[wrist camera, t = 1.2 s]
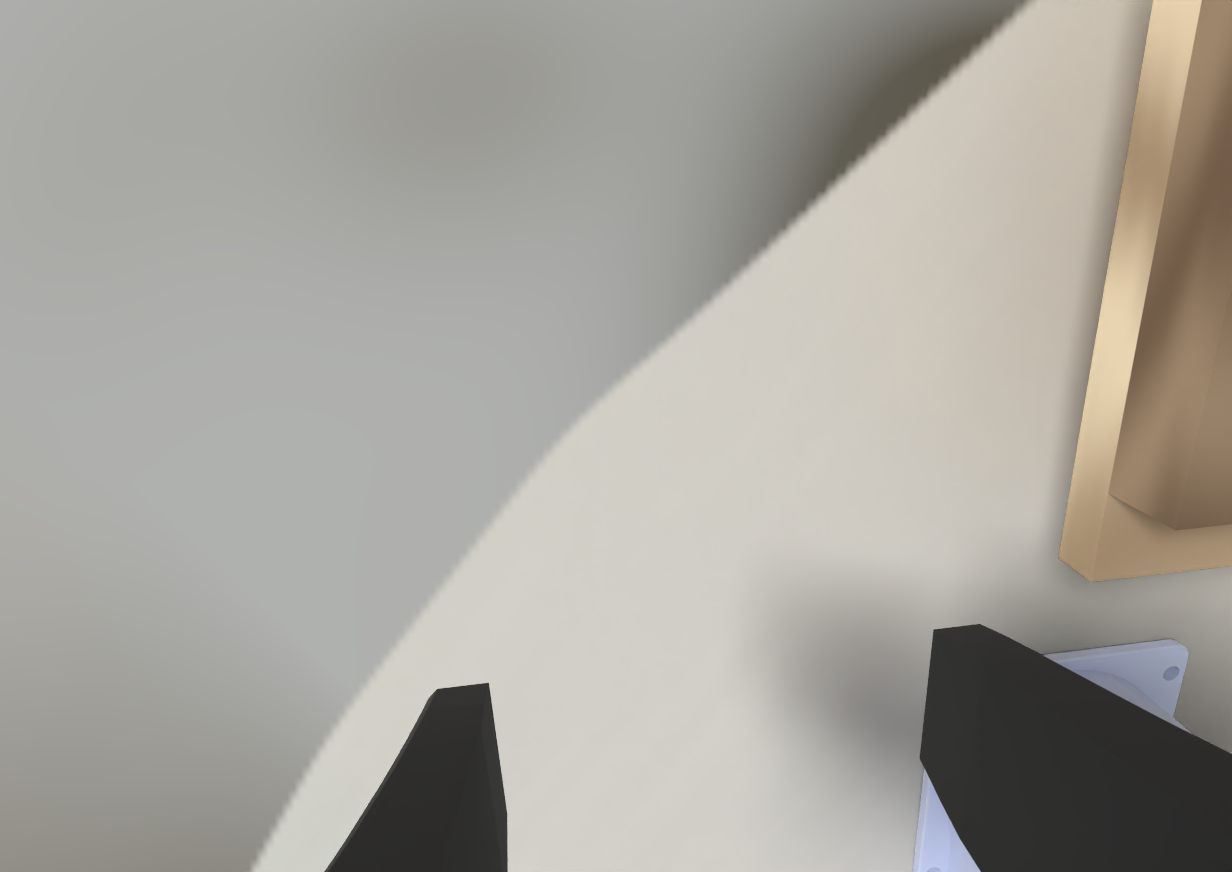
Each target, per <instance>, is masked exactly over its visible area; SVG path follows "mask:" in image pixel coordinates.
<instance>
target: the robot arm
mask: <svg viewBox="0 0 1232 872" xmlns="http://www.w3.org/2000/svg"><path fill="white" fill-rule="evenodd" d="M1187 661H1188V650H1187V648H1186V647H1184V646H1183V645H1182V644H1180V643H1179V642H1177V641H1176V640H1172V639H1167V640H1159V641H1151V642H1143V643H1135V644H1127V645H1119V646H1111V647H1103V648H1094V649H1086V650H1078V651H1070V652H1062V653H1054V654H1046V655H1041V654H1039V653H1037V652H1035V651H1034V650H1032V649H1030V648H1028V647H1026V646H1024V645H1022V644H1020V643H1018V642H1016V641H1014V640H1012V639H1010V638H1008V637H1006V636H1004V635H1002V634H1000V633H998V632H996V631H994V630H992V629H989V628H987V627H985V626H983V625H981V624H977V625H969V626H960V627H952V628H943V629H935V630H934V631H933V641H932V650H931V659H930V668H929V678H928V687H927V696H926V705H925V715H924V724H923V733H922V742H921V751H920V760H921V762H922V764H923V766H924V774H923V783H922V792H921V801H920V810H919V819H918V828H917V837H916V846H915V855H914V864H913V872H1232V754H1230V753H1228V752H1226V751H1224V750H1222V749H1220V748H1218V747H1216V746H1214V745H1212V744H1211V743H1209V742H1207V741H1205V740H1203V739H1201V738H1199V737H1197V736H1195V735H1193V734H1192V733H1191V732H1190V731H1188V730H1187V729H1186V728H1185V727H1184V726H1182V725H1181V724H1180V723H1179V722H1178V721H1177V720H1175V719H1174V718H1173V716H1174V713H1175V709H1176V705H1177V701H1178V697H1179V693H1180V689H1181V685H1182V681H1183V677H1184V673H1185V669H1186V665H1187ZM325 872H507V810H506V803H505V796H504V789H503V781H502V774H501V767H500V760H499V753H498V746H497V739H496V732H495V724H494V717H493V710H492V703H491V696H490V689H489V683H484V684H476V685H467V686H459V687H451V688H442V689H437V690H436V691H435V692H434V693H433V694H432V695H431V696H430V698H429V699H428V701H427V703H426V705H425V707H424V709H423V711H422V713H421V715H420V716H419V718H418V720H417V722H416V724H415V726H414V728H413V729H412V731H411V733H410V735H409V737H408V739H407V740H406V742H405V744H404V746H403V747H402V749H401V751H400V753H399V754H398V756H397V758H396V760H395V761H394V763H393V765H392V766H391V768H390V770H389V772H388V773H387V775H386V777H385V778H384V780H383V782H382V783H381V785H380V787H379V788H378V790H377V791H376V793H375V795H374V796H373V798H372V799H371V801H370V803H369V804H368V806H367V807H366V809H365V811H364V812H363V814H362V815H361V817H360V818H359V820H358V822H357V823H356V825H355V826H354V828H353V830H352V831H351V833H350V834H349V836H348V838H347V839H346V841H345V842H344V844H343V845H342V847H341V848H340V850H339V851H338V853H337V854H336V856H335V857H334V859H333V860H332V862H331V863H330V865H329V866H328V867H327V869H326V870H325Z"/></svg>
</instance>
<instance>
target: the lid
mask: <svg viewBox="0 0 1232 872" xmlns="http://www.w3.org/2000/svg"><path fill="white" fill-rule="evenodd" d="M1058 558H1059V559H1060V560H1061V561H1063V562H1064V563H1066V564H1067V565H1068V566H1070V567H1071V568H1072V569H1074V570H1075V571H1077V572H1078V573H1079V574H1081V575H1082V576H1083V577H1085V578H1086V579H1088V580H1089V581H1090V582H1097V581H1106V580H1114V579H1123V578H1132V577H1140V576H1149V575H1158V574H1166V573H1175V572H1183V571H1192V570H1201V569H1209V568H1218V567H1226V566H1232V0H1153V5H1152V11H1151V17H1150V23H1149V28H1148V34H1147V40H1146V46H1145V52H1144V58H1143V64H1142V70H1141V75H1140V81H1139V87H1138V93H1137V99H1136V105H1135V111H1134V117H1133V122H1132V128H1131V134H1130V140H1129V146H1128V152H1127V158H1126V164H1125V169H1124V175H1123V181H1122V187H1121V193H1120V199H1119V205H1118V211H1117V216H1116V222H1115V228H1114V234H1113V240H1112V246H1111V252H1110V258H1109V263H1108V269H1107V275H1106V281H1105V287H1104V293H1103V299H1102V305H1101V311H1100V316H1099V322H1098V328H1097V334H1096V340H1095V346H1094V352H1093V358H1092V363H1091V369H1090V375H1089V381H1088V387H1087V393H1086V399H1085V405H1084V410H1083V416H1082V422H1081V428H1080V434H1079V440H1078V446H1077V452H1076V457H1075V463H1074V469H1073V475H1072V481H1071V487H1070V493H1069V499H1068V504H1067V510H1066V516H1065V522H1064V528H1063V534H1062V540H1061V546H1060V551H1059V557H1058Z"/></svg>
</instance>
